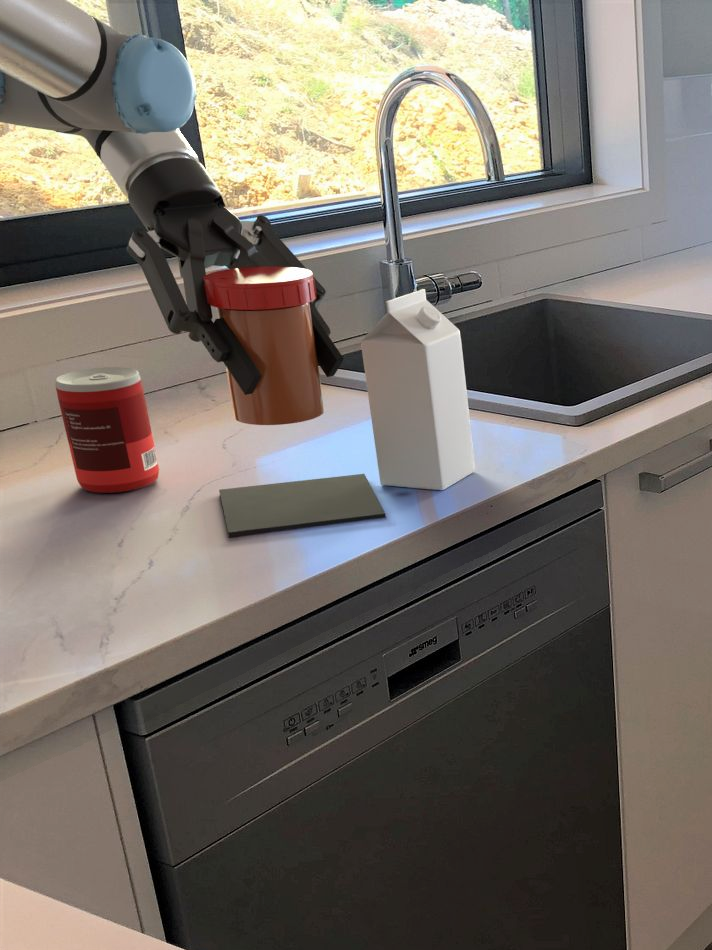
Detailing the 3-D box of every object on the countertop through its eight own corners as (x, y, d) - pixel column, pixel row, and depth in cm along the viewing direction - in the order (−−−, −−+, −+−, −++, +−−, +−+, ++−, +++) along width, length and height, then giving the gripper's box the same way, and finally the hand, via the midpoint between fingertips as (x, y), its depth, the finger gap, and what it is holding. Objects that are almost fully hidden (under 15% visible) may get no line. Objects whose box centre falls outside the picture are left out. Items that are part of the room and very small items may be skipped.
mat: (228, 537, 128) (227, 532, 128) (219, 494, 140) (219, 489, 139) (386, 518, 134) (385, 513, 134) (365, 478, 145) (364, 473, 145)
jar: (237, 428, 127) (214, 290, 122) (231, 407, 134) (209, 275, 129) (329, 420, 130) (310, 285, 125) (319, 400, 137) (301, 271, 132)
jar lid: (210, 312, 122) (205, 286, 121) (205, 294, 130) (200, 269, 129) (321, 306, 126) (318, 280, 125) (310, 288, 133) (306, 264, 132)
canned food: (148, 466, 148) (127, 363, 143) (171, 484, 142) (149, 377, 138) (69, 479, 143) (44, 374, 139) (89, 498, 138) (64, 389, 133)
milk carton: (380, 486, 143) (354, 299, 135) (415, 467, 149) (392, 287, 141) (442, 492, 141) (420, 303, 134) (476, 472, 148) (456, 290, 140)
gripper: (251, 198, 141) (373, 379, 139) (43, 218, 125) (179, 423, 123) (275, 146, 136) (402, 333, 134) (62, 160, 120) (204, 372, 118)
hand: (295, 376), depth 129 cm, fingers closed on jar, 8 cm apart
